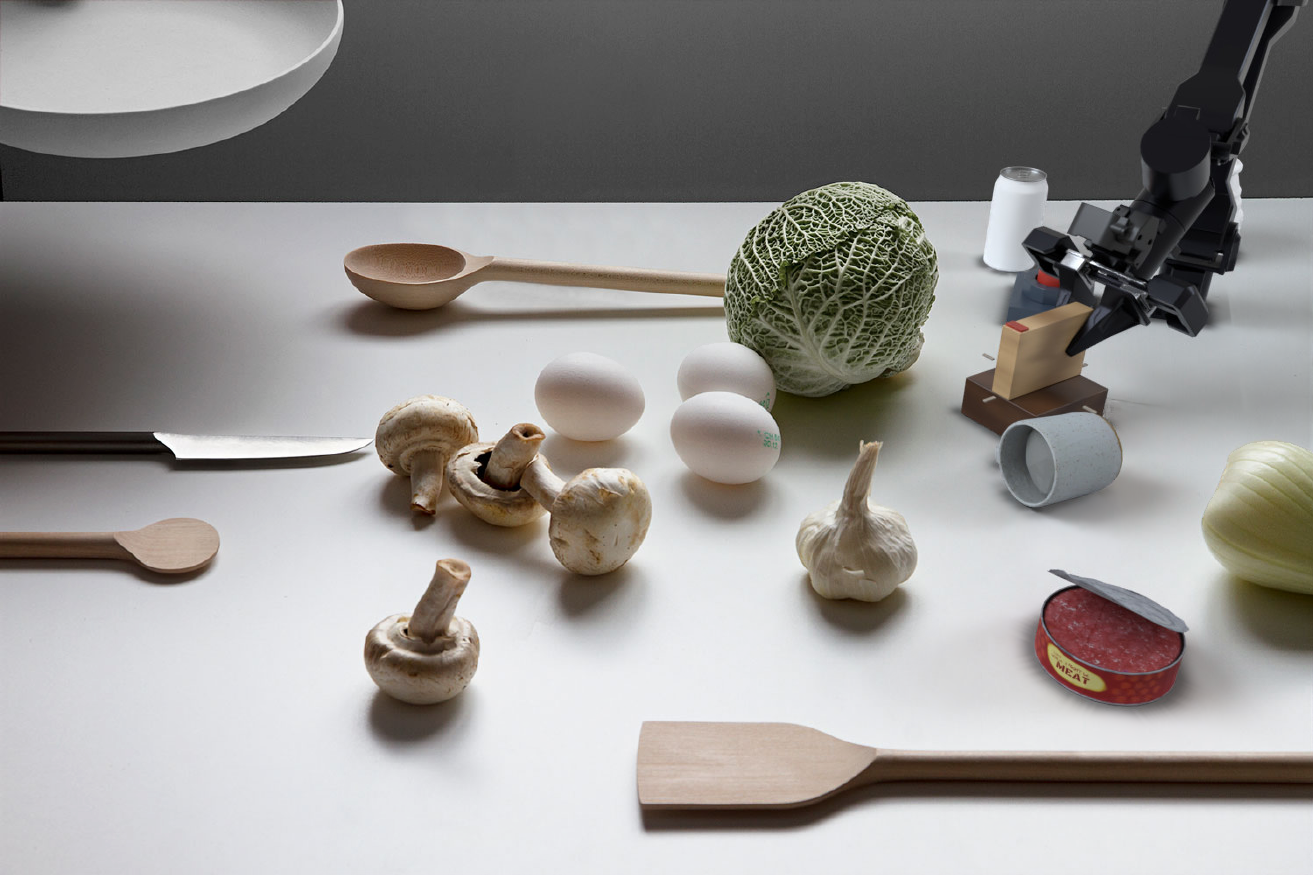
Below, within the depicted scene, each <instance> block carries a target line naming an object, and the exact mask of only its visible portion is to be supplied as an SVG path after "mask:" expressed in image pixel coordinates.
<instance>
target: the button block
mask: <svg viewBox="0 0 1313 875" xmlns="http://www.w3.org/2000/svg"><path fill="white" fill-rule="evenodd" d="M1038 273H1039V268H1032V269H1030V270H1028V271H1025V272H1017V273H1016V276H1015V280H1014V284H1013V287H1012V291H1011V296H1010V300H1009V304H1008V307H1007V314H1006V320H1005V324H1006V323H1007V322H1010V321H1018V320H1021V319H1024V318H1027V317H1030V316H1033V315H1036V314H1039V313H1043V312H1046V311H1049V310H1052V309H1054V308H1055V305H1056V302H1057V297H1058V292H1059V288H1058V287H1051V286H1046V285H1044V284H1041V283H1039V282H1038V281H1037V278H1038ZM1095 285H1096V282H1095V283H1094V284H1093V286H1092V287H1091V289H1090V291H1091V292H1092V294H1093V295H1094V296H1095ZM1091 308H1092V309H1093V306H1092V307H1091Z"/></svg>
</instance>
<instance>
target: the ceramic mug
mask: <svg viewBox="0 0 1313 875" xmlns="http://www.w3.org/2000/svg"><path fill="white" fill-rule="evenodd" d="M994 450H995V461H996V464H998V465H999V471H1000V474H1001V478H1002V481H1003V482H1004V485H1005V486H1006V488H1007V490H1008V491H1009V493H1010V494H1011V495H1012V496H1013V498H1014V499H1016V500H1017V501H1018V502H1020V503H1021V504H1022V505H1024V506H1026V507H1030V508H1041V507H1045V506H1048V505H1052V504H1056V503H1059V502H1064V501H1067V500H1071V499H1074V498H1077V497H1081V496H1086V495H1090V494H1093V493H1096V492H1099V491H1101V490H1103V489H1105V488H1106V487H1108V486H1109V485H1111V484H1113V483H1114V481H1116V479H1117V478H1118V476H1119V474H1120V472H1121V469H1122V466H1123V459H1124V458H1123V457H1124V456H1123V453H1124V452H1123V446H1122V442H1121V439H1120V436H1119V435H1118V433H1117V430H1116V429H1115V428H1114V426H1113V425H1112V424H1111V423H1110V421H1109V420H1108V419H1106V418H1105V417H1103V416H1102V417H1101V416H1100V415H1097V414H1094V413H1087V412H1072V413H1067V414H1062V415H1056V416H1049V417H1041V418H1034V419H1026V420H1021V421H1018V422H1015V423H1013V424H1011V425H1010V426H1009V427H1008V428H1007V429H1006V430H1005V432H1004V433H1003V435H1002V436H1000V441H999V444H997V445H996V446H995V449H994Z"/></svg>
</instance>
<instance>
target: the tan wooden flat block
mask: <svg viewBox="0 0 1313 875" xmlns="http://www.w3.org/2000/svg"><path fill="white" fill-rule="evenodd" d="M1094 310H1095V309H1094V308H1093V307H1092V308H1090V307H1088V306H1085V305H1083V304H1081V303H1079V302H1074V303H1071V304H1067V305H1064V306H1061V307H1058V308H1055V309H1052V310H1049V311H1046V312H1043V313H1039V314H1036V315H1033V316H1030V317H1027V318H1024V319H1021V320H1018V321H1010V322H1007V323H1006V322H1005V324H1003V325H1002V329H1001V333H1000V334H1001V335H1000V341H999V346H998V352H997V358H996V364H995V368H996V369H995V375H994V381H993V387H992V391H993V392H995V393H996V394H998V395H1000V396H1002V397H1004V398H1005V399H1007V400H1011V399H1014V398H1016V397H1019V396H1022V395H1025V394H1027V393H1030V392H1033V391H1036V390H1038V389H1041V388H1044V387H1047V386H1049V385H1052V384H1055V383H1058V382H1060V381H1063V380H1066V379H1069V378H1071V377H1074V376H1077V375H1082V370H1083V368H1082V366H1083V364H1084V361H1085V356H1086V352H1087V349H1086V350H1085V351H1083V352H1081V353H1079V354H1077V355H1075V356H1073V357H1069V356H1068V355H1067V354H1066V353H1065V350H1066V348H1067V347H1068V345H1069V343H1070V342H1071V340H1072V339H1073V337H1074V336H1075V335H1076V333H1077V332H1078V331H1079V330H1080V328H1081V327H1082V326H1083V324H1084V323H1085V322H1086V321H1087V319H1088V318H1089V317H1090V316H1091V314H1092V313H1093V312H1094Z"/></svg>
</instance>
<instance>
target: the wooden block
mask: <svg viewBox="0 0 1313 875" xmlns="http://www.w3.org/2000/svg"><path fill="white" fill-rule="evenodd" d="M981 356H982V357H984V358H986V359H988V360H990V361H995V360H996V358H995V357H993V356H991V355H989V354H987V353H985V352H984V353H982V355H981ZM1088 366H1089V363H1086V362H1085V363H1084V362H1083V366H1082V369H1083V368H1086V367H1088ZM995 369H996V367H993V368H990V369H987V370H984V371H982V372H981V371H980V372H978V373H975V374H972V375H970V376H967V377H966V378H965V383H964V388H963V389H964V390H963V396H962V401H961V402H962V403H961V408H960V413H961V414H962V415H964V416H966V417H967V418H969V419H971V420H973V421H974V422H976V423H978V424H980V425H981V426H983V427H985V428H987V429H988V430H990V431H991V432H993V433H995V434H996V435H998V436H1000V437H1002V435H1003V433H1004V432H1005V430H1006V429H1007V428H1008V427H1009V426H1010V425H1011V424H1013V423H1015V422H1018V421H1021V420H1026V419H1034V418H1041V417H1049V416H1056V415H1062V414H1067V413H1072V412H1087V413H1094V414H1097V415H1100V416H1101V417H1103V415H1104V412H1105V406H1106V403H1107V398H1108V394H1109V388H1108V387H1106V386H1104V385H1101V384H1100V383H1098V382H1096V381H1094V380H1092V379H1090V378H1088V377H1086V376H1084V375H1082V374H1080V375H1077V376H1074V377H1071V378H1069V379H1066V380H1063V381H1060V382H1058V383H1055V384H1052V385H1049V386H1047V387H1044V388H1041V389H1038V390H1036V391H1033V392H1030V393H1027V394H1025V395H1022V396H1019V397H1016V398H1014V399H1011V400H1007V399H1005V398H1004V397H1002V396H1000V395H998V394H996V393H995V392H993V391H992V387H993V381H994V375H995Z"/></svg>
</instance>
